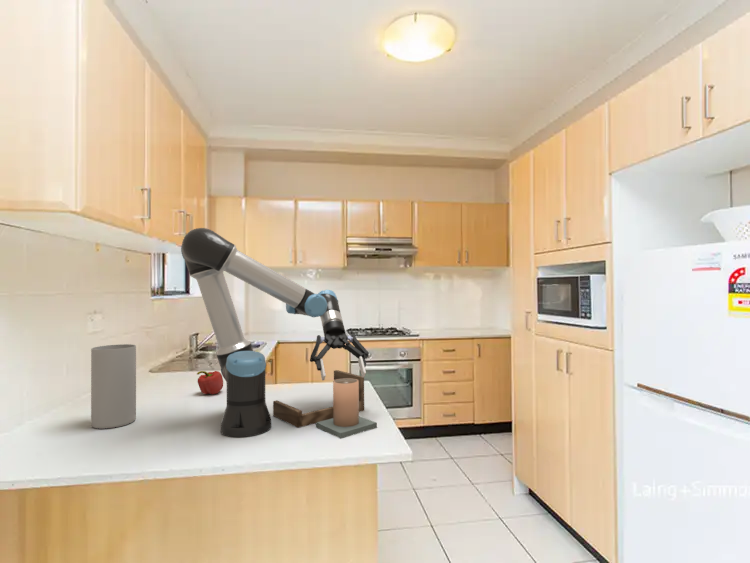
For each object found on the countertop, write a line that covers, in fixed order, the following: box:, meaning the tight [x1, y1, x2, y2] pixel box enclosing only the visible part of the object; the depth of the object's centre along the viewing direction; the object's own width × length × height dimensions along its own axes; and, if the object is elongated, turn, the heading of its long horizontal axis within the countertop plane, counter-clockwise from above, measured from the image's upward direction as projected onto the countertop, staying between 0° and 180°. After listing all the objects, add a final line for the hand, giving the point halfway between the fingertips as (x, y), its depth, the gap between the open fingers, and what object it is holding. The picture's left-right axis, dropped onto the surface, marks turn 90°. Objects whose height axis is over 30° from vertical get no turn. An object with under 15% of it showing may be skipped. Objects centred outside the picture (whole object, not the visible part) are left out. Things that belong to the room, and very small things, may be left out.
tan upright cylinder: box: [332, 378, 360, 427], centre depth 131 cm, size 8×8×13 cm
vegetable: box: [196, 370, 224, 395], centre depth 174 cm, size 11×10×10 cm
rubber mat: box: [315, 415, 378, 439], centre depth 131 cm, size 14×13×2 cm
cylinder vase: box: [90, 343, 137, 430], centre depth 137 cm, size 12×12×25 cm
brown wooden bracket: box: [272, 369, 365, 429], centre depth 146 cm, size 27×16×12 cm, turn 131°
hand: (344, 376), depth 135 cm, fingers open, 13 cm apart
